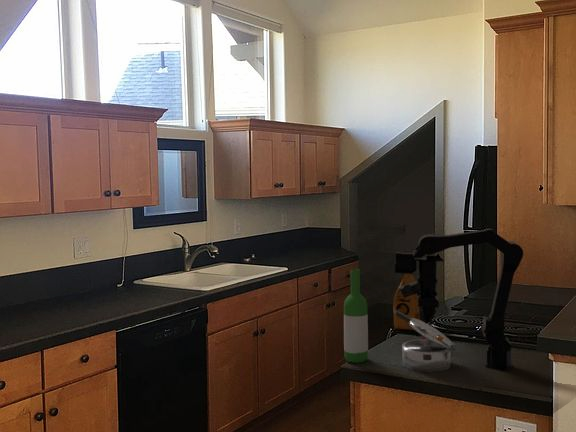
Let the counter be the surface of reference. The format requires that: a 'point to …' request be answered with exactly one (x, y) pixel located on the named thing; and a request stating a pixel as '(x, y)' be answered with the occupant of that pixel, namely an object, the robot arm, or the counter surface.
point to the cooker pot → (425, 356)
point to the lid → (427, 331)
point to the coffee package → (405, 304)
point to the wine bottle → (355, 323)
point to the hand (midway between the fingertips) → (426, 323)
